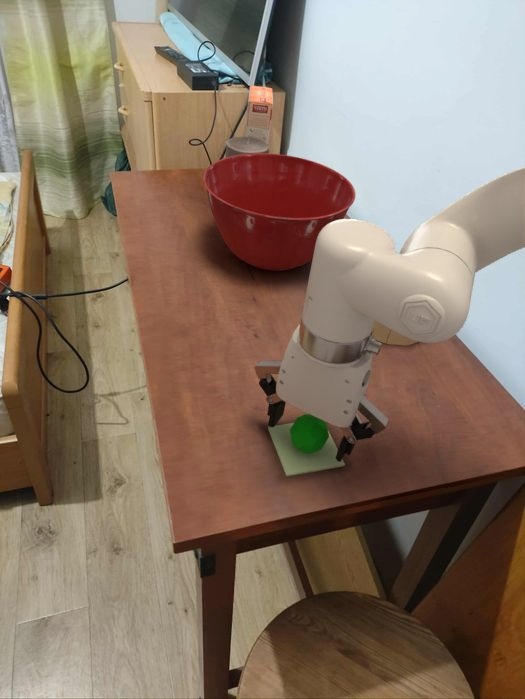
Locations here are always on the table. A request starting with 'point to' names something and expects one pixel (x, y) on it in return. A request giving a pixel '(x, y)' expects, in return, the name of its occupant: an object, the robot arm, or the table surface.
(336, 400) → the robot arm
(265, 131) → the cracker box
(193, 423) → the table surface
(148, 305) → the table surface
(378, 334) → the hollow cylinder
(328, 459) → the mat
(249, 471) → the table surface
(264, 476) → the table surface
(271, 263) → the mixing bowl
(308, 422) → the polyhedron
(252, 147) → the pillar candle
